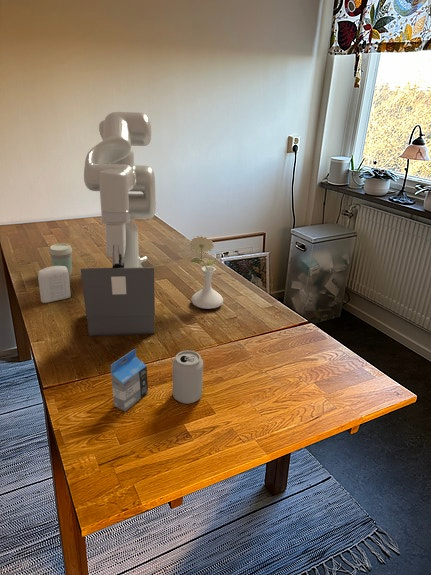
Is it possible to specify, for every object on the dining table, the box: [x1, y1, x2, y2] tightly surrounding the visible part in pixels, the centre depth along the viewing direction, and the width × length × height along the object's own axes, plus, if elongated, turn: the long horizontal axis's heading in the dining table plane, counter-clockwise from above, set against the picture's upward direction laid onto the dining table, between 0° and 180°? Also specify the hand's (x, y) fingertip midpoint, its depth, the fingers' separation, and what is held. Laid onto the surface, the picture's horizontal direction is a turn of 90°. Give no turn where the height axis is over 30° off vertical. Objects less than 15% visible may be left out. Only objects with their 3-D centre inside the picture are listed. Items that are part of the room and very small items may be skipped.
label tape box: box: [110, 348, 149, 412], centre depth 111 cm, size 9×4×12 cm, turn 148°
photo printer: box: [37, 265, 72, 304], centre depth 158 cm, size 10×4×12 cm, turn 123°
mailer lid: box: [80, 266, 156, 319], centre depth 133 cm, size 17×20×1 cm
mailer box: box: [86, 315, 155, 337], centre depth 146 cm, size 16×20×7 cm
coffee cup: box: [48, 243, 73, 278], centre depth 176 cm, size 8×9×12 cm
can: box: [172, 350, 204, 404], centre depth 113 cm, size 8×8×12 cm
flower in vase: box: [189, 236, 224, 310], centre depth 156 cm, size 13×11×25 cm
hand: (118, 276), depth 133 cm, fingers closed
